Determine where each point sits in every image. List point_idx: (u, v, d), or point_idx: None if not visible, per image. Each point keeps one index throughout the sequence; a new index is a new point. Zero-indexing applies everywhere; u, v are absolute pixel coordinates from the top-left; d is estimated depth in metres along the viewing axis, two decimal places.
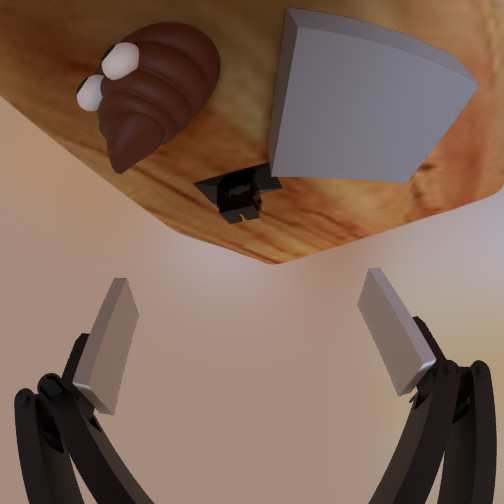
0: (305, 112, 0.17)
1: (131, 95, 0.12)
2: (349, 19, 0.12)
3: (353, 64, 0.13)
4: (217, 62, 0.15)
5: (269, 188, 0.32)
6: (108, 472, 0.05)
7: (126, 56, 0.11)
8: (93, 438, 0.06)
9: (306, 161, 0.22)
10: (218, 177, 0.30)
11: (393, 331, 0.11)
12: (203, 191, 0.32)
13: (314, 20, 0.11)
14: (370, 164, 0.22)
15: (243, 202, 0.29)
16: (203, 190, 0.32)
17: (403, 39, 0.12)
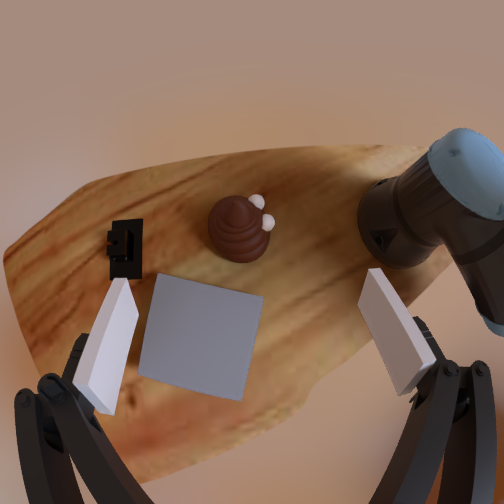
0: (211, 297, 0.34)
1: (256, 222, 0.34)
2: None
3: (242, 322, 0.34)
4: (240, 261, 0.38)
5: (114, 269, 0.38)
6: (108, 472, 0.05)
7: (270, 226, 0.36)
8: (93, 438, 0.06)
9: (169, 297, 0.34)
10: (140, 238, 0.39)
11: (393, 331, 0.11)
12: (131, 221, 0.40)
13: None
14: (160, 341, 0.33)
15: (126, 249, 0.36)
16: (132, 222, 0.40)
17: None
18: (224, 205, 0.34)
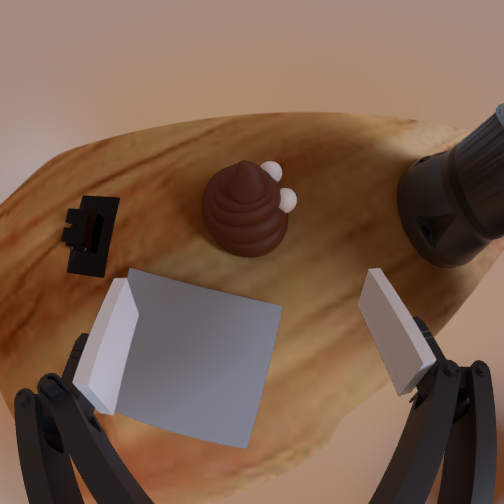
0: (204, 305, 0.23)
1: (272, 196, 0.23)
2: None
3: (250, 342, 0.23)
4: (247, 254, 0.27)
5: (73, 260, 0.27)
6: (108, 473, 0.05)
7: (291, 205, 0.25)
8: (93, 438, 0.06)
9: (144, 303, 0.23)
10: (111, 224, 0.28)
11: (393, 331, 0.11)
12: (104, 200, 0.29)
13: None
14: (132, 365, 0.22)
15: (86, 237, 0.24)
16: (105, 201, 0.28)
17: None
18: (225, 172, 0.23)
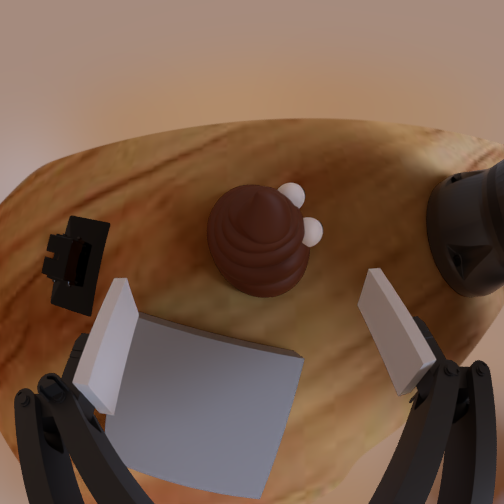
0: (212, 360, 0.19)
1: (296, 232, 0.19)
2: None
3: (266, 399, 0.18)
4: (261, 295, 0.22)
5: (58, 290, 0.23)
6: (108, 473, 0.05)
7: (316, 240, 0.20)
8: (93, 438, 0.06)
9: (141, 354, 0.18)
10: (100, 254, 0.24)
11: (393, 331, 0.11)
12: (93, 223, 0.24)
13: None
14: (132, 420, 0.17)
15: (68, 272, 0.20)
16: (94, 225, 0.24)
17: None
18: (237, 199, 0.19)
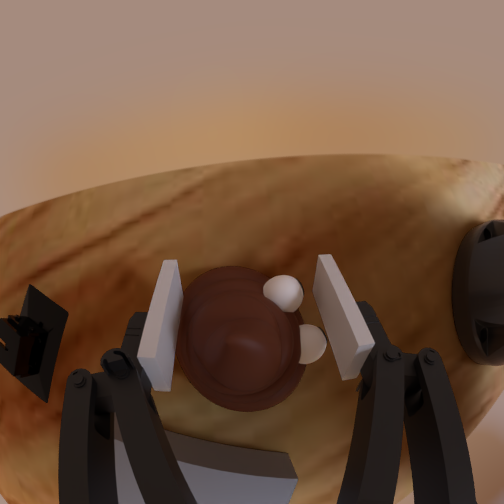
0: (193, 481, 0.12)
1: (288, 364, 0.12)
2: None
3: None
4: None
5: None
6: (159, 457, 0.06)
7: (316, 358, 0.14)
8: (151, 420, 0.07)
9: None
10: (56, 345, 0.17)
11: (336, 314, 0.12)
12: (51, 305, 0.18)
13: None
14: None
15: (19, 367, 0.14)
16: (52, 308, 0.18)
17: None
18: (203, 320, 0.12)
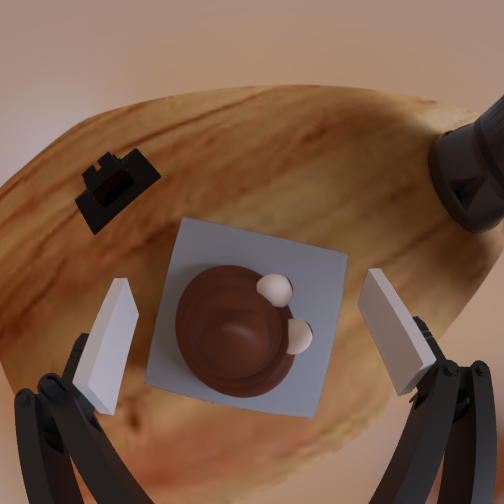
0: (269, 254, 0.22)
1: (276, 352, 0.14)
2: None
3: (319, 292, 0.21)
4: (238, 397, 0.18)
5: (86, 195, 0.26)
6: (108, 472, 0.05)
7: (303, 349, 0.16)
8: (93, 438, 0.06)
9: (200, 254, 0.22)
10: (136, 194, 0.26)
11: (393, 331, 0.11)
12: (148, 167, 0.27)
13: None
14: None
15: (101, 190, 0.23)
16: (148, 169, 0.27)
17: None
18: (202, 311, 0.14)
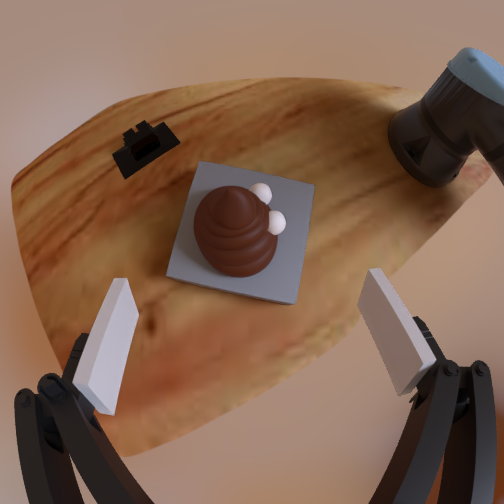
0: None
1: (260, 221, 0.24)
2: None
3: (294, 209, 0.31)
4: (236, 275, 0.27)
5: (122, 151, 0.35)
6: (108, 473, 0.05)
7: (279, 228, 0.25)
8: (93, 438, 0.06)
9: (211, 183, 0.31)
10: (160, 153, 0.36)
11: (393, 331, 0.11)
12: (171, 135, 0.37)
13: None
14: None
15: (136, 145, 0.32)
16: (171, 137, 0.36)
17: None
18: (215, 196, 0.24)
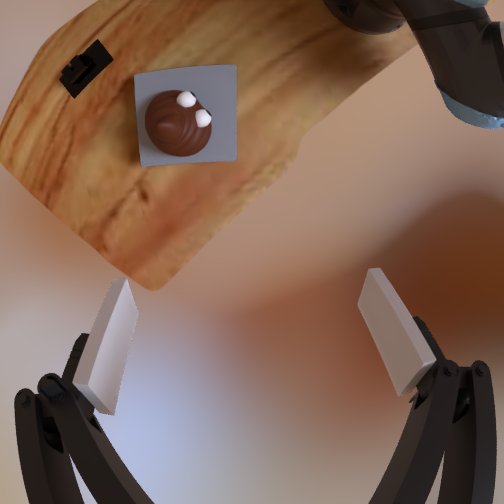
0: (187, 77, 0.30)
1: (189, 128, 0.29)
2: None
3: (221, 89, 0.32)
4: None
5: None
6: (108, 472, 0.05)
7: (206, 123, 0.30)
8: (93, 438, 0.06)
9: (150, 89, 0.31)
10: (97, 72, 0.31)
11: (393, 331, 0.11)
12: (104, 53, 0.29)
13: None
14: None
15: (74, 79, 0.28)
16: (105, 55, 0.29)
17: None
18: (152, 121, 0.28)
